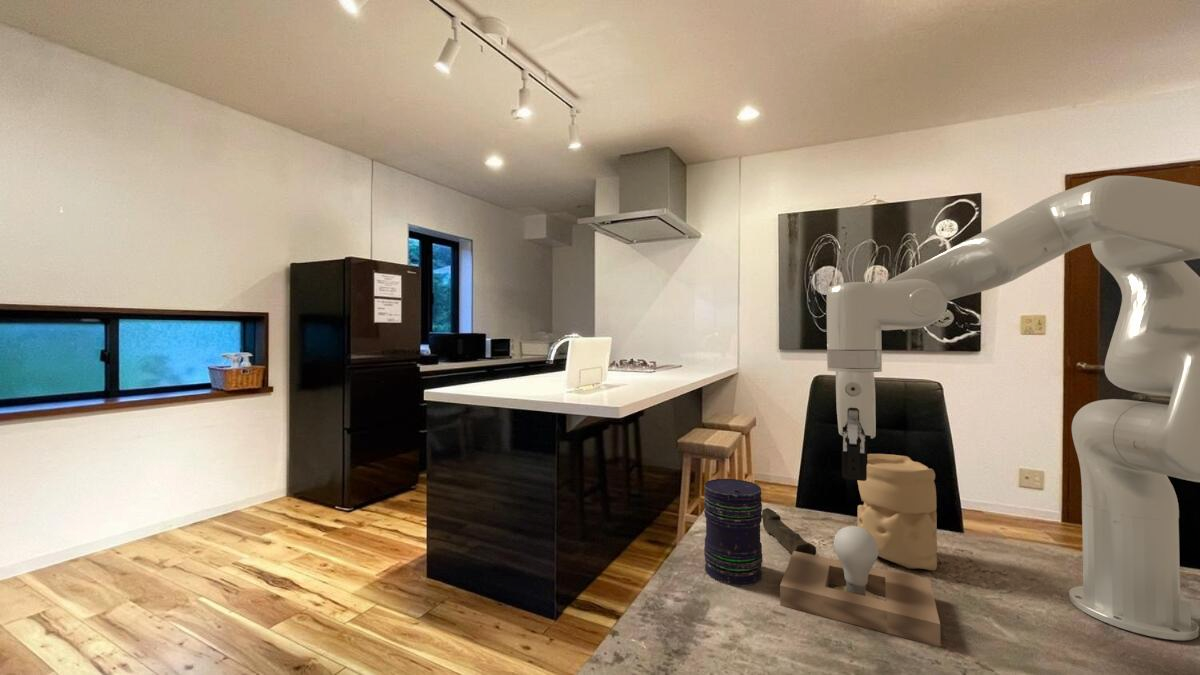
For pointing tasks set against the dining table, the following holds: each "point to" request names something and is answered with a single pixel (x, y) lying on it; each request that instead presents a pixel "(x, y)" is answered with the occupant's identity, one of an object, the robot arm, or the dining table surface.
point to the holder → (862, 598)
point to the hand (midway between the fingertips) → (855, 471)
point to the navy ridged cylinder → (733, 531)
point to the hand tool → (785, 533)
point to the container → (900, 510)
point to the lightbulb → (856, 556)
